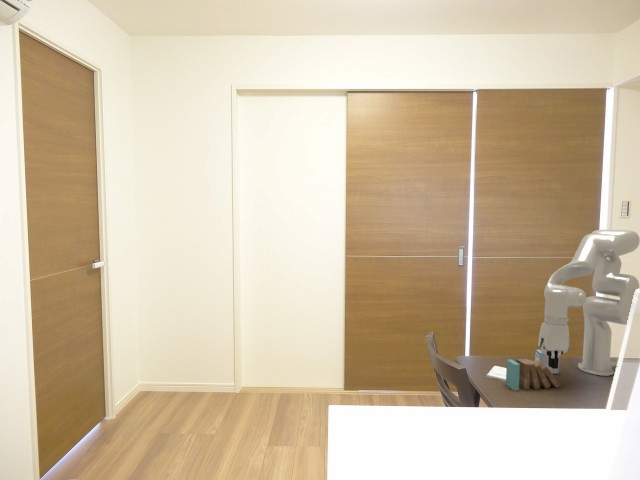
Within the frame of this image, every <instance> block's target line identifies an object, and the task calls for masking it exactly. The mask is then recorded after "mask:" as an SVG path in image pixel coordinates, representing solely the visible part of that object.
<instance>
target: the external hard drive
mask: <svg viewBox="0 0 640 480" xmlns="http://www.w3.org/2000/svg"><path fill="white" fill-rule="evenodd" d="M506 369H507V367H502V366H498V365H494V366H492V368H491V369H490V371H488V373H487V374H486V378H490V379H493V380H494V379H495V380H498V381H502V382H506Z"/></svg>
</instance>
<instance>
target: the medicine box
mask: <svg viewBox="0 0 640 480" xmlns="http://www.w3.org/2000/svg"><path fill="white" fill-rule="evenodd" d="M534 356H535V357H534V362H537V361H538V362H540V363H541V364H543V365H545V366H546V367H547V368H548V369H549V370H550V372H551V373H552V374H553V375H554V374H556V375H559V370H560V359H559V360H558V369H556V368H555V369H553V368H551V367H549V366H548V359H549V357H548V356H547V354H545V353H542V352H540V349H535V353H534Z"/></svg>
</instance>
